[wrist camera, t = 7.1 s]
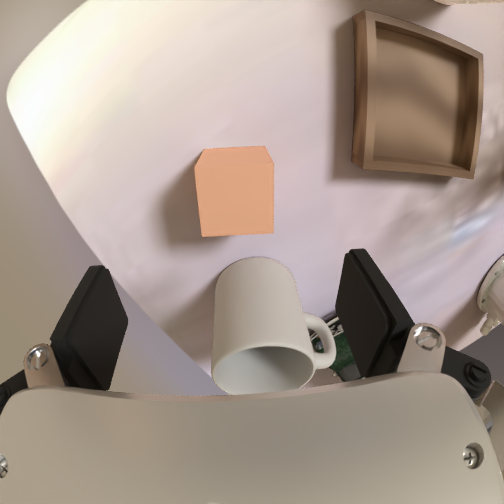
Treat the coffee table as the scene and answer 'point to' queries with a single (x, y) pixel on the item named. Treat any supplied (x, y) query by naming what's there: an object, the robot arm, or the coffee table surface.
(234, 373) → the mug
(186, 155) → the coffee table surface
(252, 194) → the terracotta block
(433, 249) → the coffee table surface
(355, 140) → the walnut tray
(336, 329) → the miniature car
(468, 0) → the white cup
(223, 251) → the coffee table surface
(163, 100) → the coffee table surface
